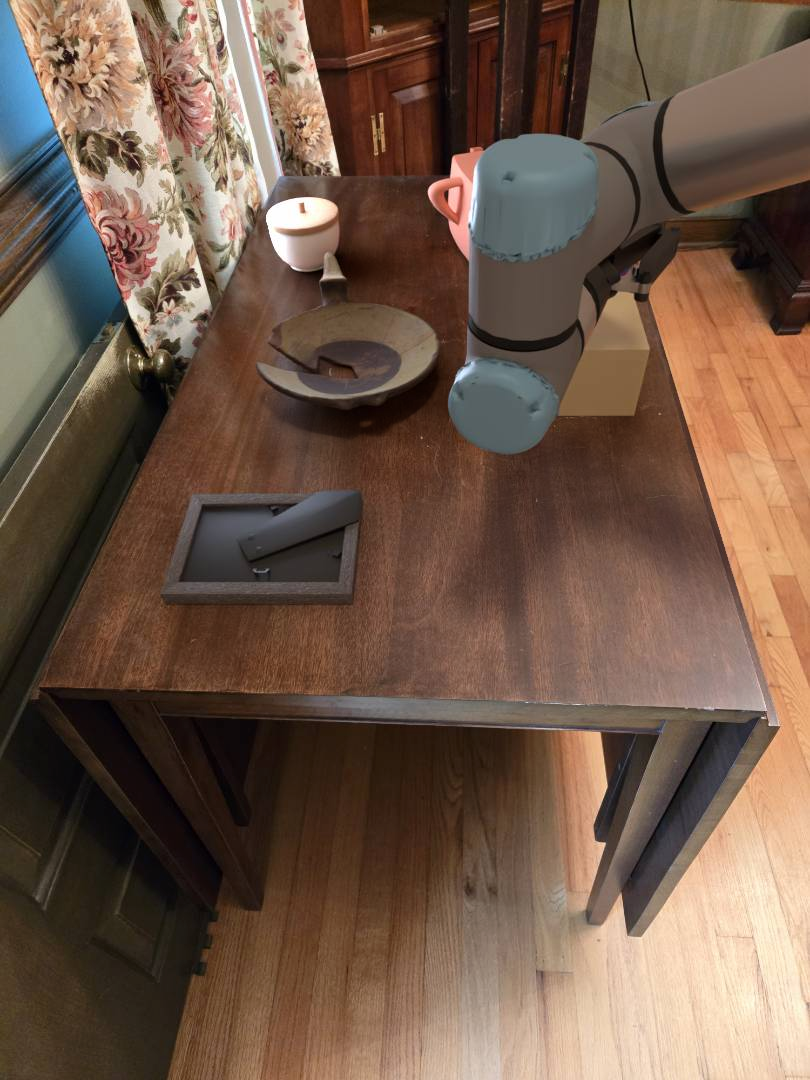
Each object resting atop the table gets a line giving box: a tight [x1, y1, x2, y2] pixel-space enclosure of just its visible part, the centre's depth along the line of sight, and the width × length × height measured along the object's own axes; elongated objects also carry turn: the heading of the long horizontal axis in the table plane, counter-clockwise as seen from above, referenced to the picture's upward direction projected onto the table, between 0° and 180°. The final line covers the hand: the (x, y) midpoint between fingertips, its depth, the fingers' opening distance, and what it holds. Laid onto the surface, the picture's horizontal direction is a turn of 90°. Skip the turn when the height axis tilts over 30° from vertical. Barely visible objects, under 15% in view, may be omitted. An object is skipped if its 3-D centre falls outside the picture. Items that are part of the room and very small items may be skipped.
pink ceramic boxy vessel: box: [427, 146, 485, 262], centre depth 110 cm, size 20×22×14 cm
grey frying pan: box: [255, 252, 441, 411], centre depth 91 cm, size 22×30×8 cm
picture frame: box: [159, 489, 364, 605], centre depth 72 cm, size 13×2×18 cm
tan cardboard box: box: [557, 268, 651, 417], centre depth 86 cm, size 14×16×10 cm
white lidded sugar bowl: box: [265, 196, 341, 273], centre depth 109 cm, size 11×11×9 cm
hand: (613, 197), depth 73 cm, fingers closed on decorative egg, 8 cm apart
